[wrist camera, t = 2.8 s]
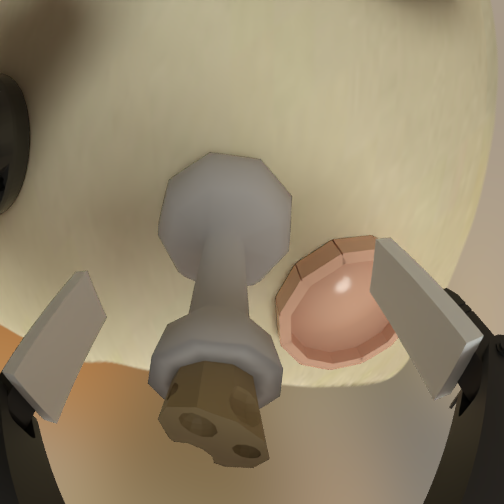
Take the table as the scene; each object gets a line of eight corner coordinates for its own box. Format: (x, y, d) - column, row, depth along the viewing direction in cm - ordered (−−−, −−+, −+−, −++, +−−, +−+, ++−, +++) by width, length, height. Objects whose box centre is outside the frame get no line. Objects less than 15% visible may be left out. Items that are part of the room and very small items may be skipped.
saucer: (279, 360, 29) (282, 377, 27) (271, 246, 23) (275, 261, 20) (393, 338, 29) (401, 352, 27) (417, 230, 23) (432, 241, 20)
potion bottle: (251, 271, 24) (273, 497, 8) (154, 226, 21) (42, 438, 5) (307, 182, 20) (471, 376, 4) (202, 125, 18) (15, 180, 2)
